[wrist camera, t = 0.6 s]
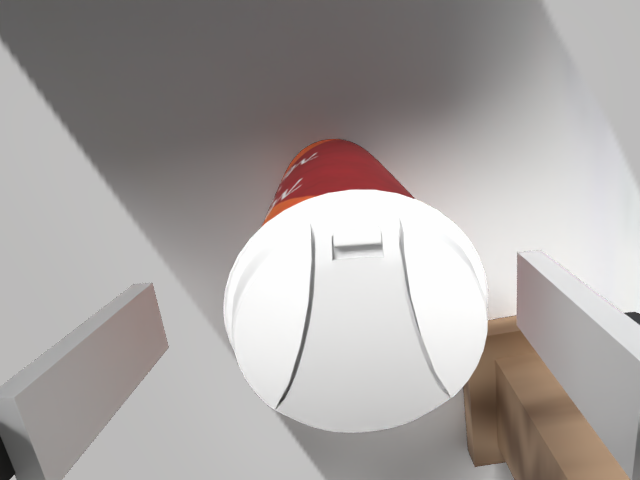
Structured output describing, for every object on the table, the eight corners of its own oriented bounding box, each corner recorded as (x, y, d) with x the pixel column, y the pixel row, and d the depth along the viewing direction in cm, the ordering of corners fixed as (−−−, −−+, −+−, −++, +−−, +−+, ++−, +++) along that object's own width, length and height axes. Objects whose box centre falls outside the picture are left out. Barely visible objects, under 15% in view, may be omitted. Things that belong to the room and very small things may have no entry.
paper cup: (256, 123, 22) (187, 219, 10) (401, 112, 22) (526, 195, 9) (273, 255, 25) (238, 459, 13) (399, 246, 25) (491, 441, 13)
